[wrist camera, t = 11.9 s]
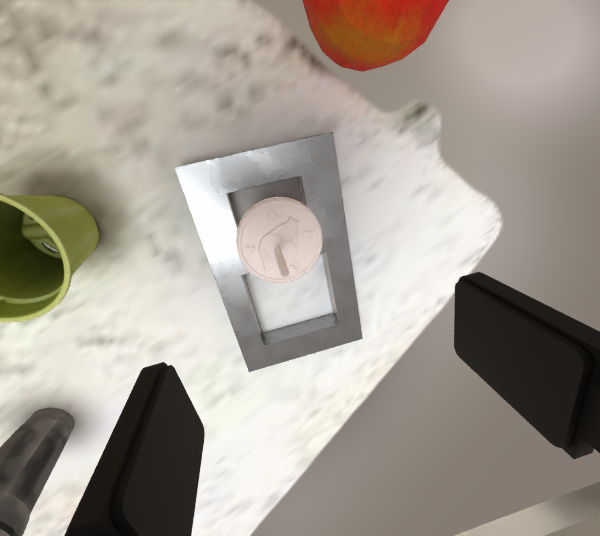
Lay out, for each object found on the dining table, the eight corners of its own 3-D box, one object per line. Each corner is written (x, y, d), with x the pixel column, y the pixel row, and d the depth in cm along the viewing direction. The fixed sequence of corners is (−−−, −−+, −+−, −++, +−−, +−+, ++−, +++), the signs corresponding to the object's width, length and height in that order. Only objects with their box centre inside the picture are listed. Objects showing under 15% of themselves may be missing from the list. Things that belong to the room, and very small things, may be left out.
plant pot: (91, 292, 29) (34, 344, 21) (-17, 240, 26) (-134, 278, 18) (138, 218, 27) (95, 245, 19) (28, 152, 24) (-78, 151, 16)
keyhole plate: (180, 166, 26) (174, 167, 24) (325, 133, 28) (332, 131, 25) (248, 358, 35) (249, 372, 33) (355, 327, 37) (362, 338, 34)
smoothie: (227, 229, 29) (214, 288, 16) (255, 171, 28) (266, 187, 15) (282, 255, 31) (308, 326, 19) (311, 203, 30) (362, 241, 17)
